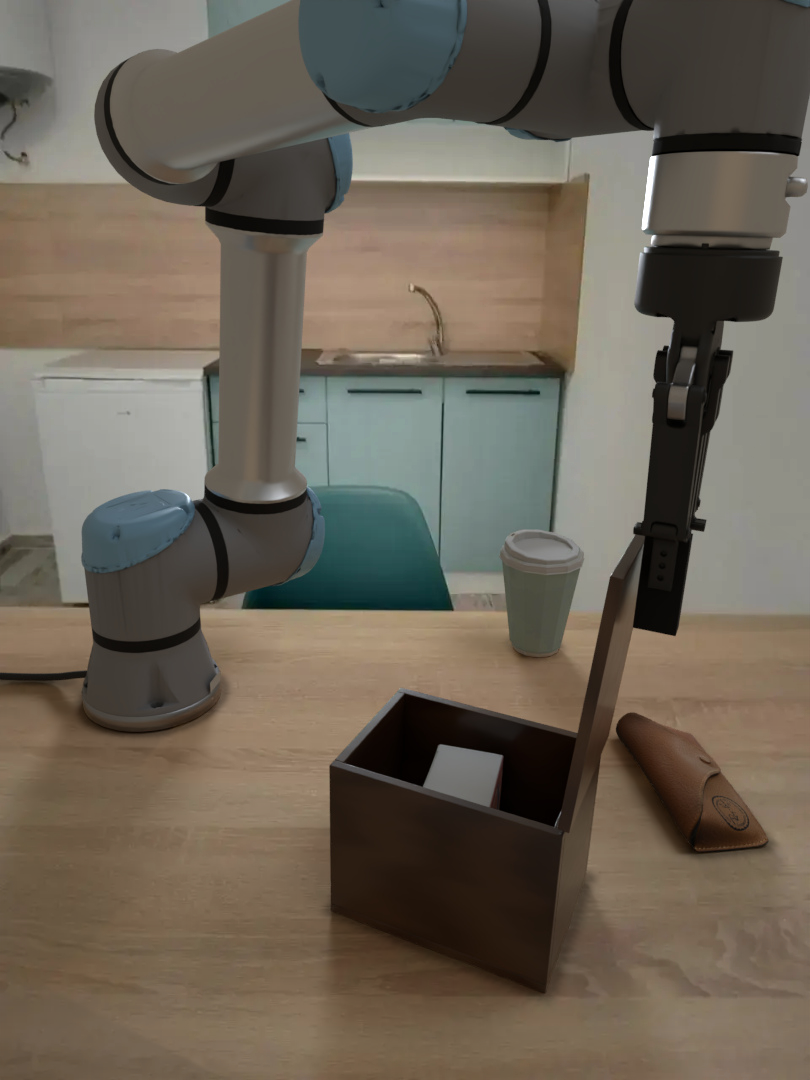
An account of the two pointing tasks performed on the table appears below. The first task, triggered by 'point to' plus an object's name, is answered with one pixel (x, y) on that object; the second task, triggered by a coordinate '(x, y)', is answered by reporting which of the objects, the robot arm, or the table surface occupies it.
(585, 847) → the chest
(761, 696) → the table surface
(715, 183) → the robot arm
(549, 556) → the disposable coffee cup
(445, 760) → the small box
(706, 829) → the sunglasses case
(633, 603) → the lid
